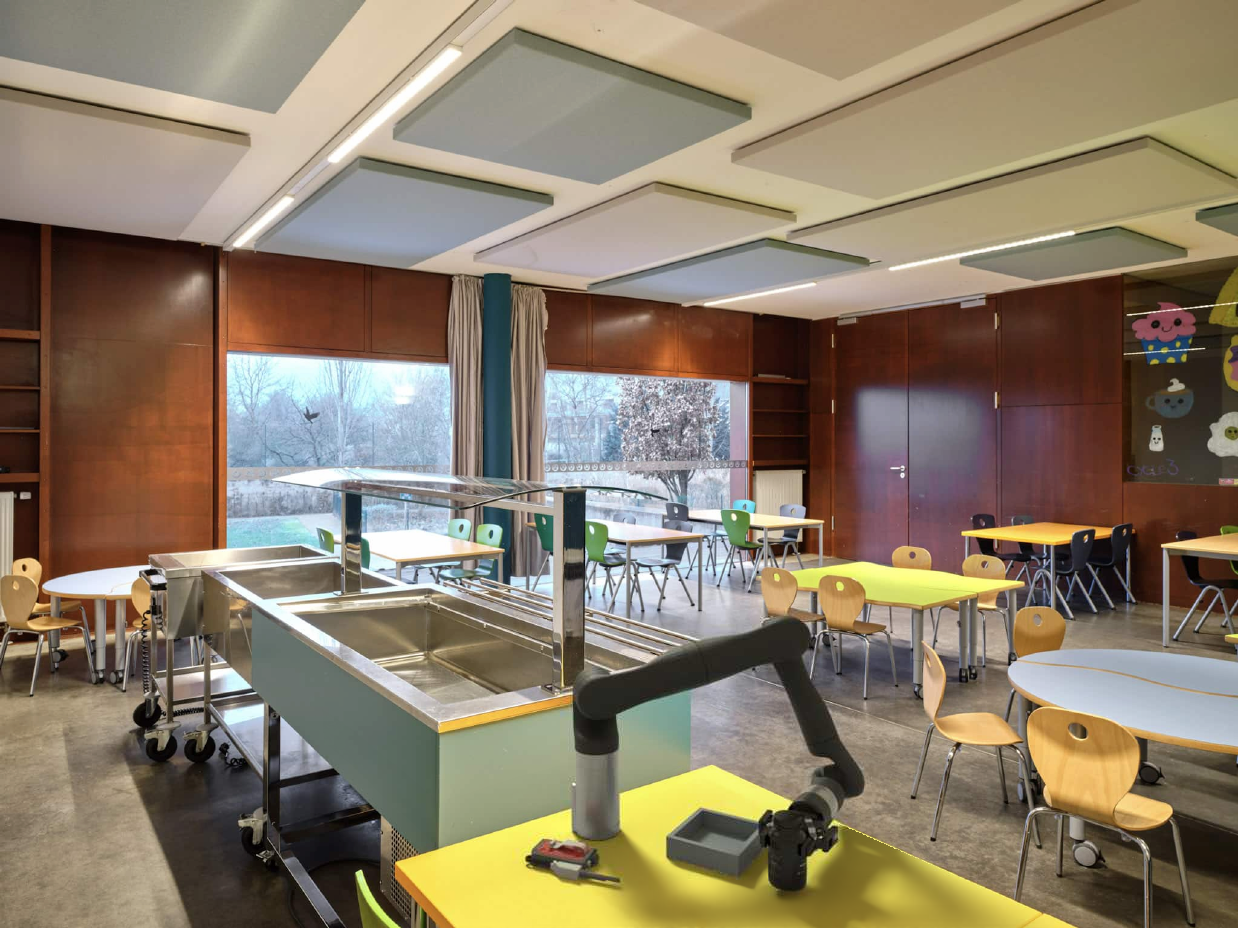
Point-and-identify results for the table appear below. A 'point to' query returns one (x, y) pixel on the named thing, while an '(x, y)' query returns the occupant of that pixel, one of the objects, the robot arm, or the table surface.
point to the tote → (715, 841)
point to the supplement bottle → (786, 852)
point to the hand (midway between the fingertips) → (783, 847)
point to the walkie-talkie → (567, 859)
